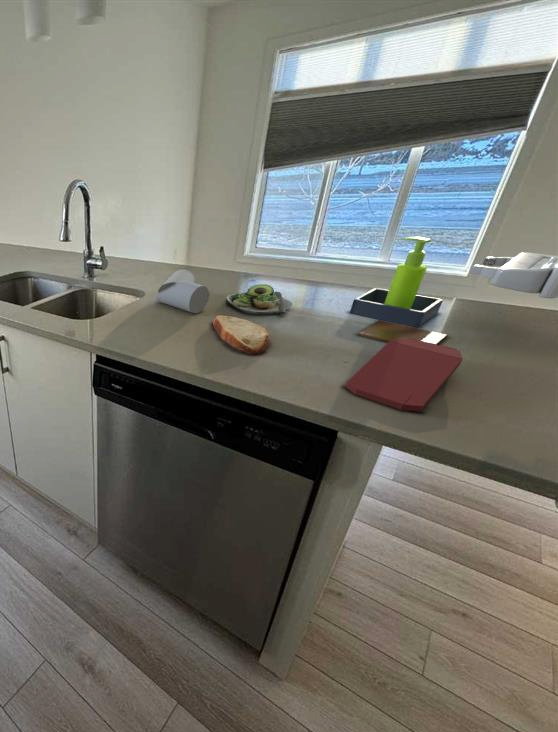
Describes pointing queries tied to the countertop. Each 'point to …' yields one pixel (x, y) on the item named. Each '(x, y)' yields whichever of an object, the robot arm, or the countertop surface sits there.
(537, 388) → the countertop surface
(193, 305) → the elbow connector
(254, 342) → the bread slice
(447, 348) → the maroon flat slab
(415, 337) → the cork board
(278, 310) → the salad plate
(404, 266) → the soap dispenser
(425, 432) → the countertop surface
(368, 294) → the dark blue tray
